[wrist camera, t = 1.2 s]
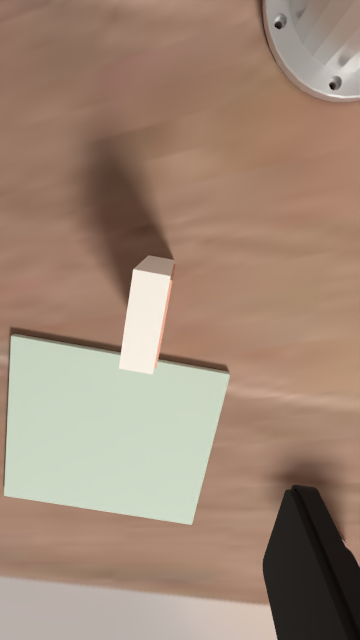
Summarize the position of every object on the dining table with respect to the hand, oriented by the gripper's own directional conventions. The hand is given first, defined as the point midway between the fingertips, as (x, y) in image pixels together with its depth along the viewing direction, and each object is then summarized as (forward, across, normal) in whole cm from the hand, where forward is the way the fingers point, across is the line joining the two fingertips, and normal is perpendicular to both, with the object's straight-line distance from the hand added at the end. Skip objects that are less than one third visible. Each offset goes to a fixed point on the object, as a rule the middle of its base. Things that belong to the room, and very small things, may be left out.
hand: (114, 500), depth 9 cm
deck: (+21, +1, -1) cm, 21 cm away
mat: (+20, +3, +14) cm, 25 cm away
